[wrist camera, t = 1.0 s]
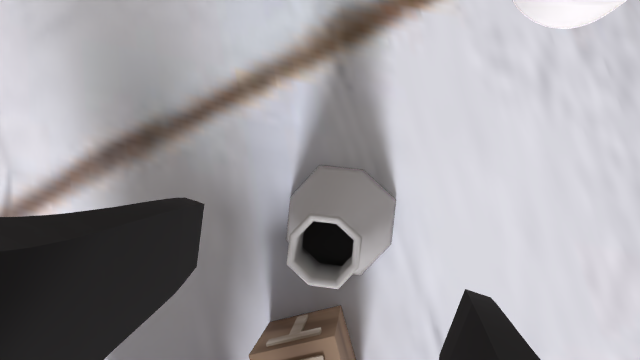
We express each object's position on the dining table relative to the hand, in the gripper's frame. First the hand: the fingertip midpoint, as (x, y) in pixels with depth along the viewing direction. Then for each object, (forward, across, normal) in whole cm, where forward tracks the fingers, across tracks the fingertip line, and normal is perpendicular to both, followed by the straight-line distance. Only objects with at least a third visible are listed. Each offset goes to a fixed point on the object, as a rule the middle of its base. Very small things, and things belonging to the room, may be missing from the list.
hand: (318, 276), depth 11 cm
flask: (+16, +2, +5) cm, 16 cm away
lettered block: (+13, +1, +14) cm, 19 cm away
